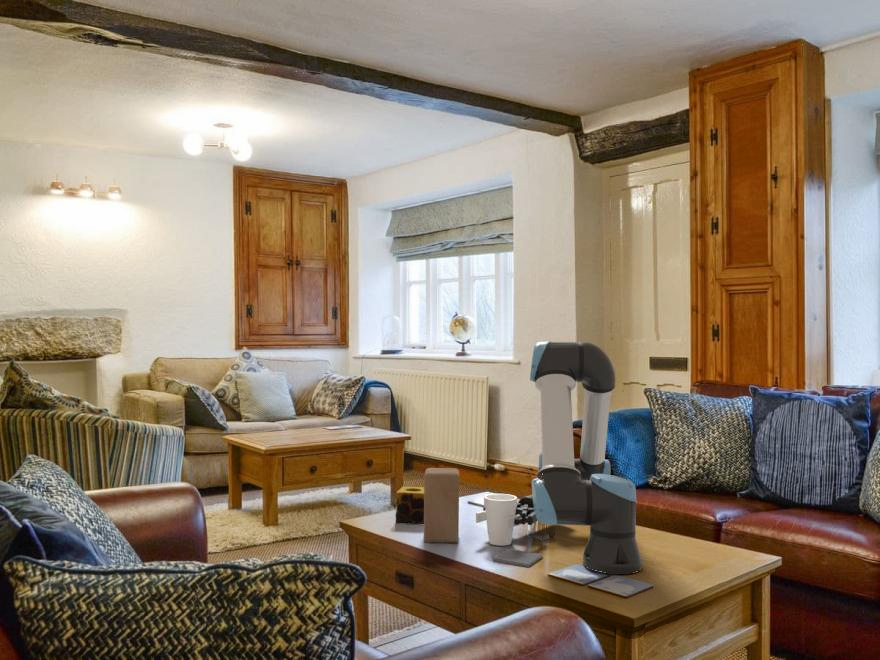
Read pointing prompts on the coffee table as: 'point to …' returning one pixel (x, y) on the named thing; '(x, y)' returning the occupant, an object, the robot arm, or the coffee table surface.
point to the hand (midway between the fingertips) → (491, 520)
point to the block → (441, 505)
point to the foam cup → (499, 517)
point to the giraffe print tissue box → (410, 505)
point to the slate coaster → (518, 557)
